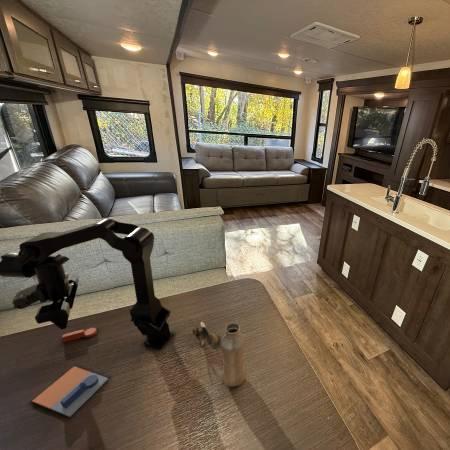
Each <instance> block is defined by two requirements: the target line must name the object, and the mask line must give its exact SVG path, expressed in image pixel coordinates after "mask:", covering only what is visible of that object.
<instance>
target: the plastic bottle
mask: <svg viewBox="0 0 450 450" xmlns="http://www.w3.org/2000/svg"><path fill="white" fill-rule="evenodd" d="M224 329H225V331H224V335H223V336H222V338H220V345H219V346H220V347H219V348H220V351H221V354H222V360H223V365H222V371H221V378H222V381H223V384H225V385H226V386H227V387H233V388H234V387H238V386H239V385H241V384H243V382H244V380H245V378H246V373H247V371H246V366H245V363H244V353H245V347H246V339H245V337H244V335H243V334H242V333H241V326H240V325H239V323H237V322H231V323H229V324H227V325H226V326H225V328H224Z"/></svg>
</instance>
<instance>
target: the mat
mask: <svg viewBox="0 0 450 450" xmlns="http://www.w3.org/2000/svg"><path fill="white" fill-rule="evenodd" d="M91 375H97V377H98V383H97V384H96V385H95V386H93V387H92V388H89V389H86V390H85V391H84V392H83V393H82V394H81V395H80V396H79V397H78V398H77V399H76V400H75V401H74V402H73V403H72V404H71V405H69V406H68V407H67V408H64V407H62V405H61V402H60V401H61V400H62V399H64V398H65V397H66V396H67V395H68V394H69V393H70V392H71V391H72V390H74V389H75V388H76V387H77V386H78V385H79V384H80V383H81V382H83V381H84V380H85V379H86V378H87V377H89V376H91ZM107 381H109V378H108V377H105V376H103V375H100V374H98V373H95V372H91V371H89V370H85V369H84V368H80V367H78V366H75V365H74V366H72V367H71V368H70V369H69V370H68V371H67V372H65V373H64V374H63V375H62V376H60V377H59V378H58V379H57V380H56V381H54V382H53V383H52V384H51V385H49V386H48V387H47V388H46V389H44V390H43V391H42V392H41V393H40V394H38V396H36V397H35V398H34V399H32V402H31V403H33V404H36V405H39V406H41V407H44V408H46V409H49V410H50V411H53V412H56V413H58V414H61V415H64V416H66V417H68V418H71V417H72V416H73V415H74V414H75V413H76V412H77V411H78V410H79V409H80V408H81V407H82V406H83V405H84V404H86V402H87V401H88V400H89V399H90V398H91V397H92V396H93V395H95V393H96V392H98V391H99V390H100V388H101V387H103V386H104V385H105V383H106V382H107Z"/></svg>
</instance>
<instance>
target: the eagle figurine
mask: <svg viewBox="0 0 450 450" xmlns="http://www.w3.org/2000/svg"><path fill="white" fill-rule="evenodd" d="M199 324H200V327H201V329H200V330H199V327H198V326H197V325H196V326H195V328H196V329H192V332H189V333H188V332H187V335H188V336H195V337H196V338H200V347H203V345H204V344H205V340H206V342H207V343H208V344H209V345H212V347H213V348H217V347H219V346H220V342H221V337H220V336H219V334H217V333H216V331H213V330H210V329H207V327H206V324H205V323H204V322H203V321H201V322H200V323H199Z"/></svg>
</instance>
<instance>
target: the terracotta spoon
mask: <svg viewBox="0 0 450 450" xmlns="http://www.w3.org/2000/svg"><path fill="white" fill-rule="evenodd" d="M97 333H98V331H97V328H96V327H89V328H87V329H86V330H85V329H84V328H83V329H80V330H75V331H72V332H68V333H64V334H62V337H61V339H62V341H63V343H68V342H71V341H75V340H78V339H82V338H87V339H88V338H92V337H94V336H95V335H97Z"/></svg>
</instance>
